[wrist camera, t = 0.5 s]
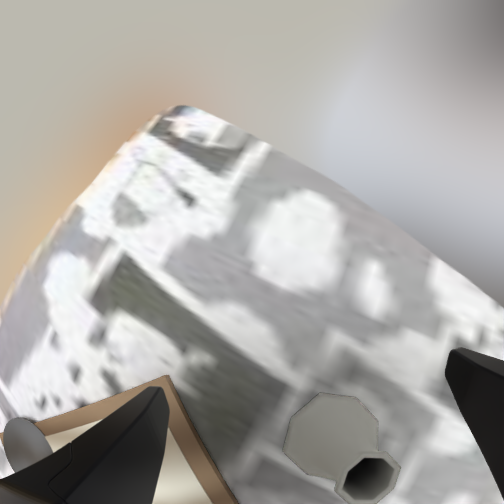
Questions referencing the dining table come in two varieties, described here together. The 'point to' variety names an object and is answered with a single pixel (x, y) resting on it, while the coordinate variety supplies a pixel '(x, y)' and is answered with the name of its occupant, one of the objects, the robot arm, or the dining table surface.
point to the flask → (341, 448)
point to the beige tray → (175, 458)
